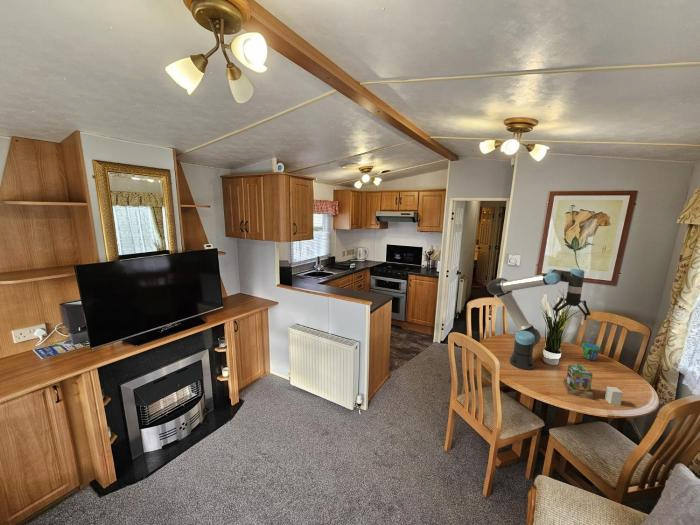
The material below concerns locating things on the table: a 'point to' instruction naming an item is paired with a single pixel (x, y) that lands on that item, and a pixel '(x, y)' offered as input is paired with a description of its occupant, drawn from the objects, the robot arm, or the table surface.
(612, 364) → the table surface
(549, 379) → the table surface
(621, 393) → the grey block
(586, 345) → the snack cup
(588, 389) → the chalk box
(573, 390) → the walnut block
